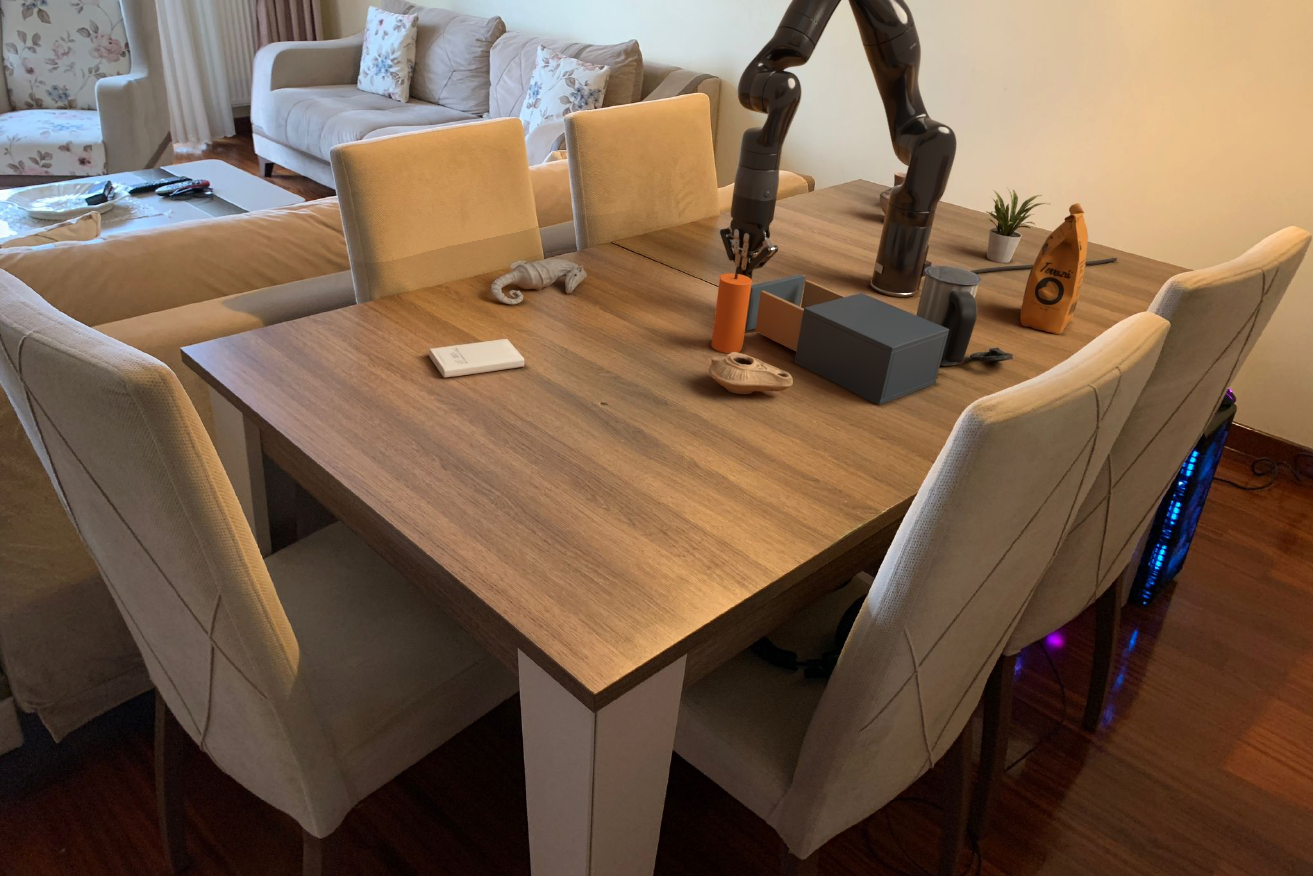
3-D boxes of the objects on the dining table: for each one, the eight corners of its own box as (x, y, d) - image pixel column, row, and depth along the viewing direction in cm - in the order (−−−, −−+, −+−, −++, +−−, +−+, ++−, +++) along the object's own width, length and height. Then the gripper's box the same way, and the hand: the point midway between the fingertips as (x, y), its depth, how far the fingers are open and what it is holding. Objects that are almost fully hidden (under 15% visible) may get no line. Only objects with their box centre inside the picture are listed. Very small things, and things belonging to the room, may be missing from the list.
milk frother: (894, 347, 160) (913, 265, 152) (965, 339, 166) (986, 260, 158) (946, 382, 148) (970, 296, 141) (1020, 373, 155) (1046, 290, 147)
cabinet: (794, 362, 150) (803, 307, 146) (850, 344, 159) (861, 292, 154) (879, 405, 139) (892, 347, 134) (935, 383, 148) (949, 329, 143)
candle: (727, 338, 157) (736, 266, 150) (748, 349, 153) (759, 276, 147) (704, 344, 154) (713, 271, 147) (726, 355, 150) (736, 281, 144)
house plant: (1042, 260, 213) (1063, 190, 205) (1029, 274, 203) (1051, 201, 195) (981, 245, 219) (1000, 177, 211) (965, 259, 209) (984, 187, 201)
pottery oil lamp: (786, 409, 134) (772, 373, 130) (713, 411, 140) (697, 377, 136) (801, 369, 140) (788, 333, 135) (730, 373, 146) (715, 339, 142)
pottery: (866, 221, 230) (876, 173, 224) (904, 204, 248) (913, 159, 242) (909, 232, 224) (920, 183, 219) (944, 213, 243) (955, 168, 237)
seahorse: (526, 308, 158) (598, 266, 171) (478, 271, 160) (552, 233, 173) (521, 330, 161) (591, 287, 174) (474, 293, 164) (546, 254, 177)
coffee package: (1009, 324, 174) (1043, 210, 164) (1022, 306, 184) (1054, 197, 173) (1063, 338, 170) (1102, 222, 160) (1073, 319, 180) (1110, 208, 169)
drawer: (724, 319, 162) (729, 277, 158) (776, 306, 169) (782, 266, 166) (812, 364, 148) (820, 319, 144) (864, 347, 156) (873, 304, 152)
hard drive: (524, 368, 140) (444, 379, 134) (506, 347, 146) (429, 356, 140) (524, 358, 139) (444, 369, 134) (506, 337, 145) (428, 346, 140)
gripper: (798, 199, 155) (782, 296, 164) (744, 180, 164) (731, 273, 172) (767, 204, 151) (752, 303, 159) (713, 184, 159) (702, 279, 168)
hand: (741, 287), depth 166 cm, fingers closed
